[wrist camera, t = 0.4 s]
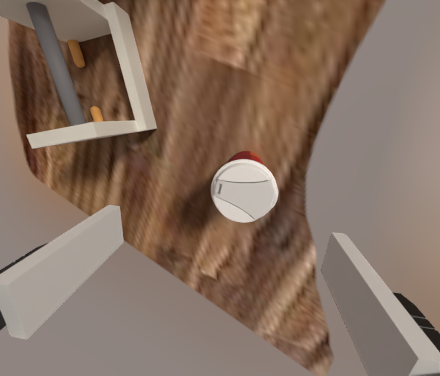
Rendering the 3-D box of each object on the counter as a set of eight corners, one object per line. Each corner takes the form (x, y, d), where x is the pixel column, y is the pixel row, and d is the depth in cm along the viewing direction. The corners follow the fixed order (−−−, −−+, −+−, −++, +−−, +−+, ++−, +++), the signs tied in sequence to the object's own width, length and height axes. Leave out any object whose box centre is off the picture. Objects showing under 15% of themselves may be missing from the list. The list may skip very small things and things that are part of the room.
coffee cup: (219, 181, 40) (202, 216, 26) (229, 139, 37) (217, 153, 23) (261, 192, 40) (266, 234, 26) (274, 151, 37) (290, 172, 23)
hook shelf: (67, 32, 35) (-41, -18, 22) (128, 14, 33) (49, -52, 20) (102, 138, 41) (32, 148, 28) (156, 128, 38) (108, 134, 25)
